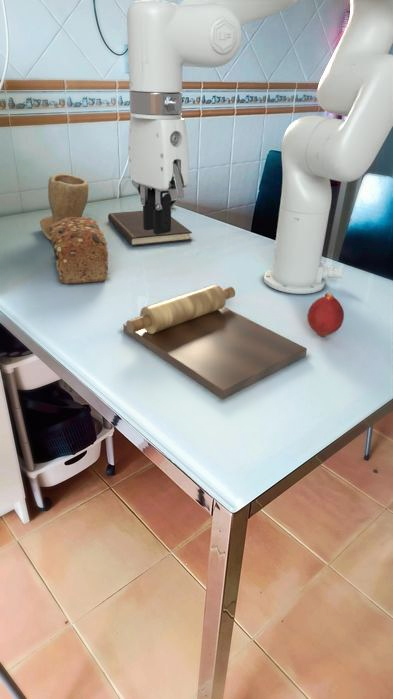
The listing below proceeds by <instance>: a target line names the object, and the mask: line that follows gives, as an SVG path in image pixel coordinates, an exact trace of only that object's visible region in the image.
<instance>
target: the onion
mask: <svg viewBox="0 0 393 699" xmlns="http://www.w3.org/2000/svg"><path fill="white" fill-rule="evenodd" d="M344 318H345V312H344V308H343V306H342V305H341V303H340V301H339V300H338V299H337V298H336V297H334V295H333V294H332V292H326V293H325V294H324V296H321V297H320V298H318V299H316V300H315V301H314V302H313V303H312V304H311V305H310V307H309V309H308V311H307V320H306V321H307V322H308V325H309V326H310V328H311V329H312V330H313V331H314V332H315V333H316V334H317V336H319V337H320V338H323V337H327V336H329V335H331V334H334V333H335V332H336V331H338V330H339V329H340V328H341V327H342V325H343V322H344Z"/></svg>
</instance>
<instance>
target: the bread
mask: <svg viewBox="0 0 393 699" xmlns="http://www.w3.org/2000/svg"><path fill="white" fill-rule="evenodd" d="M50 234H51V235H50V236H51V240H50V241H51V243H52V244H51V246H52V250H53V254H54V259H55V264H56V270H57V274H58V279H59V281H60V283H61V284H62V283H63V284H69V285H72V284H84V283H99V282H103V281H105V280H106V279H107V278H108V270H109V267H108V266H109V251H108V247H107V246H108V242H107V240H106V236H105V235H104V232H103V230H102V229H101V228H100V226H99V224H98V222H97V221H96V220H95V219H94V218H92V217H83V216H82V217H67V218H61V219H60V220H59V221H58V222H56V223H55V224H52V225H51V226H50Z"/></svg>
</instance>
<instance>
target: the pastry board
mask: <svg viewBox="0 0 393 699" xmlns="http://www.w3.org/2000/svg"><path fill="white" fill-rule="evenodd" d="M122 325H123V326H122V328H123V333H124V334H126V335H127V336H129V337H130V338H132V339H133V340H135V341H136V342H138V343H139V344H140V345H142V346H143V347H145V348H146V349H147V350H149V351H151V352H152V353H153V354H155V355H156V356H158V357H159V358H161V359H162V360H164V361H165V362H166V363H168V364H170V365H171V366H173V367H174V368H176V369H177V370H179V372H181V373H183V374H184V375H185V376H187V377H188V378H191V380H193V381H195V382H196V383H198V384H199V385H200V386H202V387H204V388H205V389H206V390H208V391H209V392H211V393H212V394H213V395H215V396H217V398H220V399H221V400H225V399H227V398H229V397H231V396H233V395H235V394H237V393H238V392H240V391H242V390H244V389H246V388H247V387H250V386H252V385H254V384H255V383H258V382H260V381H261V380H264V379H265V378H268V377H269V376H271V375H273V374H275V373H277V372H279V371H280V370H283V369H285V368H287V367H289V366H291V365H292V364H294V363H296V362H298V361H300V360H301V359H304V358H306V356H307V351H308V349H307V347H305V346H303V345H301V344H299V343H297V342H295V341H293V340H291V339H289V338H287V337H285V336H283V335H281V334H279V333H277V332H276V331H273V330H272V329H269V328H267V327H266V326H263V325H261V324H259V323H257V322H255V321H253V320H251V319H249V318H248V317H245V316H243V315H241V314H239V313H237V312H235V311H234V310H231V309H229V308H227V307H225V306H224V307H223V308H222V309H219V310H216V311H213V312H211V313H208V314H205V315H202V316H200V317H197V318H194V319H192V320H189V321H186V322H183V323H181V324H178V325H175V326H172V327H170V328H167V329H164V330H161V331H159V332H156V333H153V334H150V333H148V332H147V331H146V330H145V329H142V330H139V331H136V332H133V333H130V332H129V331H128V329H127V327H126V323H123V324H122Z"/></svg>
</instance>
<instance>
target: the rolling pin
mask: <svg viewBox="0 0 393 699" xmlns="http://www.w3.org/2000/svg"><path fill="white" fill-rule="evenodd" d="M235 296H236V291H235V288H234V287H233V286H227V287H225V288H222V287H221V286H220V285H218V284H212V285H209V286H205V287H203V288H199V289H196V290H193V291H190V292H187V293H184V294H181V295H178V296H174V297H171V298H168V299H164V300H162V301H158V302H155V303H153V304H150V305H149V304H148V305H147V306H146V305H145V306H143V307H142V308H141V309H140V313H139V316H137V317H135V318H134V317H133V318H131V319H129V320H127V321H125V324H126V327H127V329H128V331H129V332H130V333H133V332H136V331H139V330H142V329H145V330H146V331H147V332H148V333H150V334H153V333H156V332H159V331H161V330H164V329H167V328H170V327H172V326H175V325H178V324H181V323H183V322H186V321H189V320H192V319H194V318H197V317H200V316H202V315H205V314H208V313H211V312H213V311H216V310H219V309H222V308H223V307H225V305H226V301H227V300H229V299H232V298H234V297H235Z"/></svg>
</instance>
